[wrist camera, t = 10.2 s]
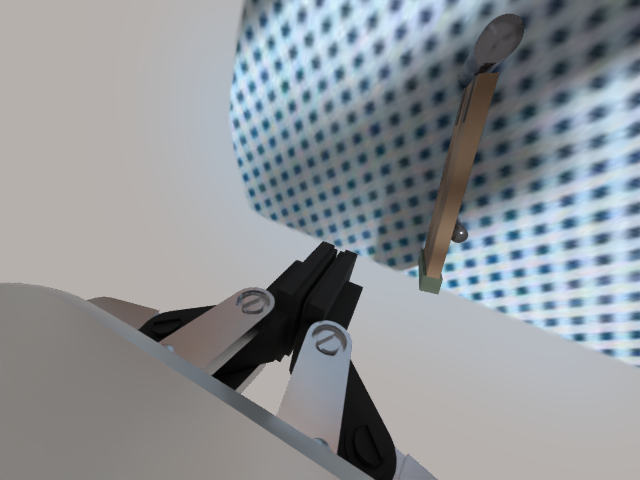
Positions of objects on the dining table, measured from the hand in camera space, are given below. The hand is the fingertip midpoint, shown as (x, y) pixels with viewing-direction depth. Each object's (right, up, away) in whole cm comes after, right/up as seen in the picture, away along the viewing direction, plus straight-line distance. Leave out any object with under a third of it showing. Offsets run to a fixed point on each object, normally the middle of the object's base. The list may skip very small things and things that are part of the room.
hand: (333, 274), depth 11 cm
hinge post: (+14, +18, +12) cm, 26 cm away
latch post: (+15, +4, +17) cm, 23 cm away
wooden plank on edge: (+13, +7, +15) cm, 22 cm away
